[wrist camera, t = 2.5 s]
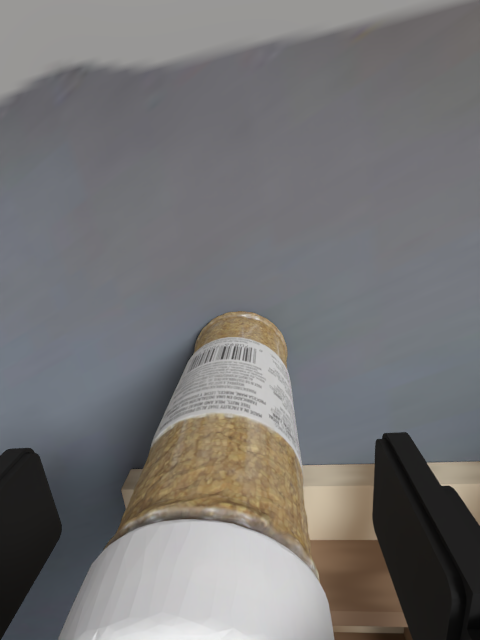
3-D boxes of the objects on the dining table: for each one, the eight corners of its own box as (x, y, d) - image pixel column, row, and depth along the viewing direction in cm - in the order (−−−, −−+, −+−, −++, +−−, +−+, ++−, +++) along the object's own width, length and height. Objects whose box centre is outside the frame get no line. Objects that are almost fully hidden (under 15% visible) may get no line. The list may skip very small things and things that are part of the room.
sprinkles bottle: (193, 386, 18) (37, 809, 6) (198, 302, 17) (2, 627, 4) (282, 397, 18) (320, 854, 6) (295, 313, 17) (390, 683, 4)
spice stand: (582, 459, 18) (692, 550, 14) (527, 656, 24) (592, 771, 19) (130, 469, 20) (91, 551, 16) (172, 647, 26) (151, 749, 21)
